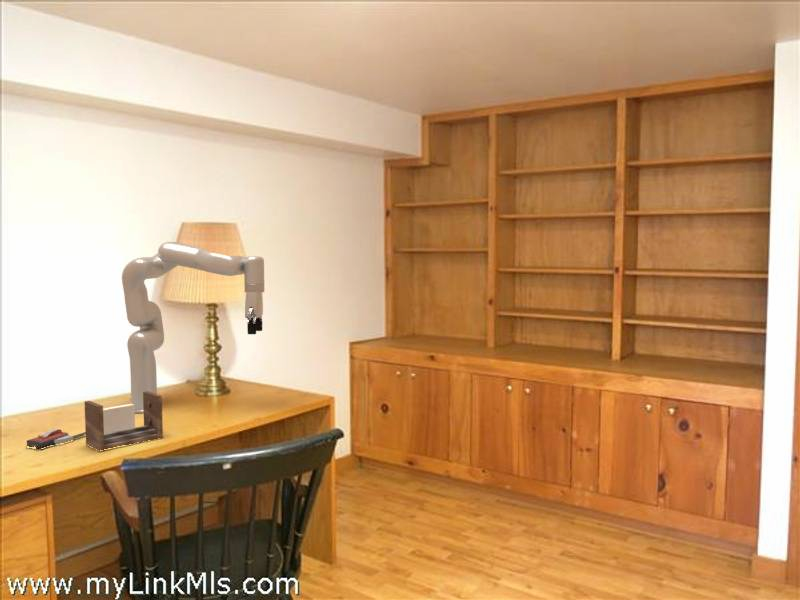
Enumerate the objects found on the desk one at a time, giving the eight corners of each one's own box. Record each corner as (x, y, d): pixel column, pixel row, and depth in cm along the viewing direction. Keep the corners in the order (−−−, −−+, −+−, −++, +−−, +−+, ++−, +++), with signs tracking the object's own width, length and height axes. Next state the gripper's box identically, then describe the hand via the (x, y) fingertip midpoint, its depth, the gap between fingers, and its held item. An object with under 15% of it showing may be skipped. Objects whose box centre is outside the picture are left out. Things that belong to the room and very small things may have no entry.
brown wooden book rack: (148, 432, 231) (147, 391, 230) (162, 438, 224) (161, 395, 223) (86, 445, 216) (84, 401, 214) (99, 452, 209) (97, 406, 208)
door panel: (131, 428, 236) (131, 403, 235) (136, 430, 234) (135, 405, 233) (91, 436, 226) (90, 410, 225) (96, 438, 223) (95, 412, 223)
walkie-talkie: (43, 453, 209) (92, 436, 228) (42, 439, 209) (91, 423, 227) (22, 450, 212) (72, 433, 231) (21, 436, 212) (71, 421, 230)
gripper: (250, 287, 266) (251, 329, 267) (238, 289, 249) (239, 335, 250) (269, 287, 266) (269, 329, 267) (258, 290, 248) (259, 335, 250)
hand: (255, 332), depth 258 cm, fingers open, 9 cm apart
